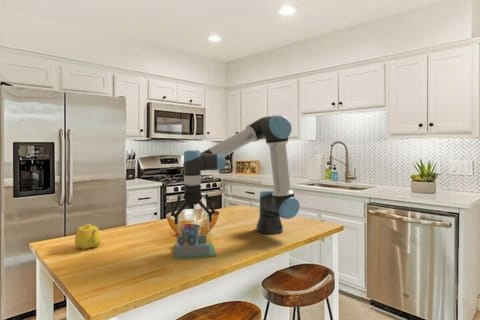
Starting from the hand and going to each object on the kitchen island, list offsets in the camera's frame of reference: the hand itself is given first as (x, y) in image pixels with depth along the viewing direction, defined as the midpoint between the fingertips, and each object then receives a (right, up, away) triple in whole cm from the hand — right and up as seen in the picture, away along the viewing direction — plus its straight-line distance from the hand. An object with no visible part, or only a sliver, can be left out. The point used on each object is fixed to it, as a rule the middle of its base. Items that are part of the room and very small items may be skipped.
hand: (193, 230), depth 149 cm
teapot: (-50, -9, +4) cm, 51 cm away
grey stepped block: (0, -10, 0) cm, 10 cm away
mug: (-1, -9, +1) cm, 9 cm away
